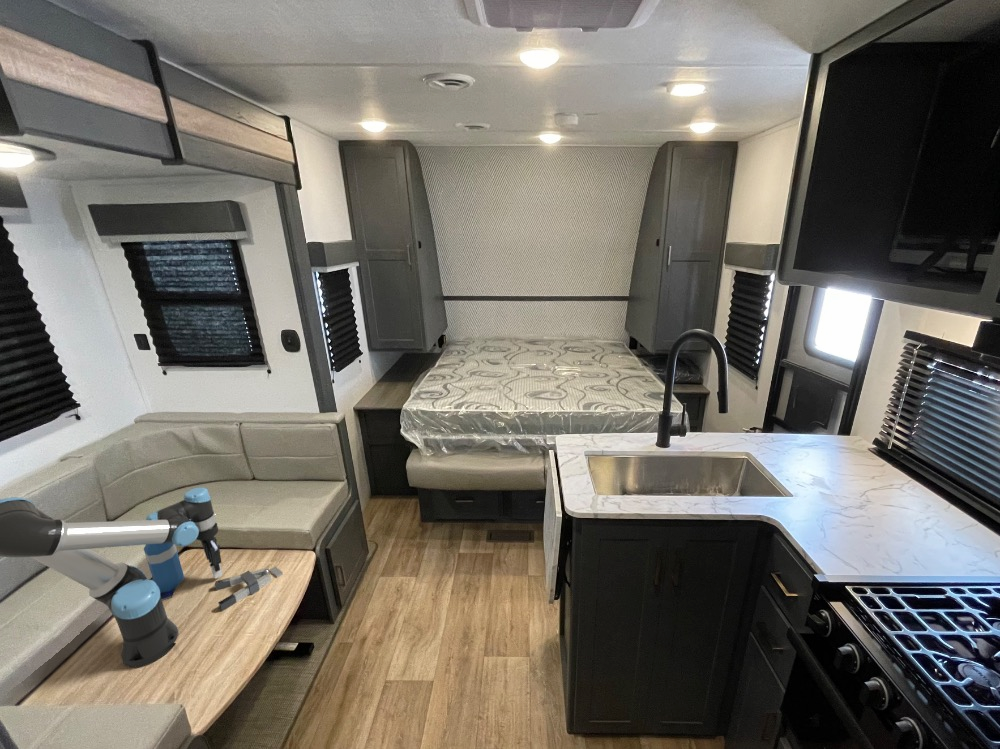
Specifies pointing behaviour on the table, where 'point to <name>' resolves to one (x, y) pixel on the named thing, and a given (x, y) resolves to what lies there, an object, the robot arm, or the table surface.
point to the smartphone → (167, 595)
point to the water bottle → (164, 565)
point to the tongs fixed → (247, 590)
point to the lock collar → (250, 581)
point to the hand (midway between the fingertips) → (218, 575)
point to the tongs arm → (238, 579)
